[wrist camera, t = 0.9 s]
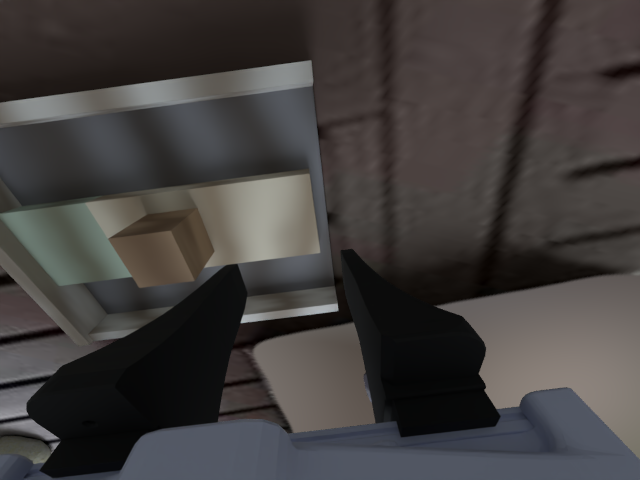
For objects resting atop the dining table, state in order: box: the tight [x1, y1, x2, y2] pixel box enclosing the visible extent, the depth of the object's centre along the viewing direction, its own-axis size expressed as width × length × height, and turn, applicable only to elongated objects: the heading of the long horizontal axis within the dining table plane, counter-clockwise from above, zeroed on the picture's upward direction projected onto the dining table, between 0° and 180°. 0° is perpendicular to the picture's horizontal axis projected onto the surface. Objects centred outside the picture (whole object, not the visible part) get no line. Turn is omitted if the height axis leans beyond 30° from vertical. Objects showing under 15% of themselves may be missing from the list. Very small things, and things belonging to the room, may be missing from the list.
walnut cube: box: [108, 208, 215, 288], centre depth 17 cm, size 4×4×4 cm
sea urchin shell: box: [0, 436, 51, 464], centre depth 36 cm, size 9×8×8 cm
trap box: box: [0, 60, 338, 346], centre depth 19 cm, size 26×20×3 cm
